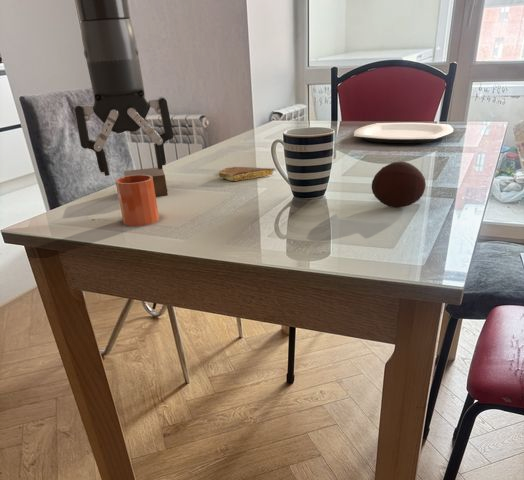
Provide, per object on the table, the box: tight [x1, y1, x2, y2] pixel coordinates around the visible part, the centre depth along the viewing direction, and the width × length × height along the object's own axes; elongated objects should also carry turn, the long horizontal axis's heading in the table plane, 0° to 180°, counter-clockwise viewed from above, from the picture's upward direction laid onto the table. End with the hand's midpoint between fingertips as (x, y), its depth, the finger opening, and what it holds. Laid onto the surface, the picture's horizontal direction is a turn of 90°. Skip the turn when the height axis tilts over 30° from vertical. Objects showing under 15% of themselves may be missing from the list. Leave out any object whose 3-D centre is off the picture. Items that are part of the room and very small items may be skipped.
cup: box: [115, 175, 160, 227], centre depth 85 cm, size 6×6×8 cm
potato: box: [371, 161, 427, 209], centre depth 87 cm, size 8×9×8 cm
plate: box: [353, 122, 454, 144], centre depth 144 cm, size 27×27×2 cm
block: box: [123, 167, 169, 197], centre depth 106 cm, size 8×8×4 cm
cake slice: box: [218, 166, 275, 182], centre depth 113 cm, size 11×8×2 cm
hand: (133, 171), depth 83 cm, fingers open, 8 cm apart
